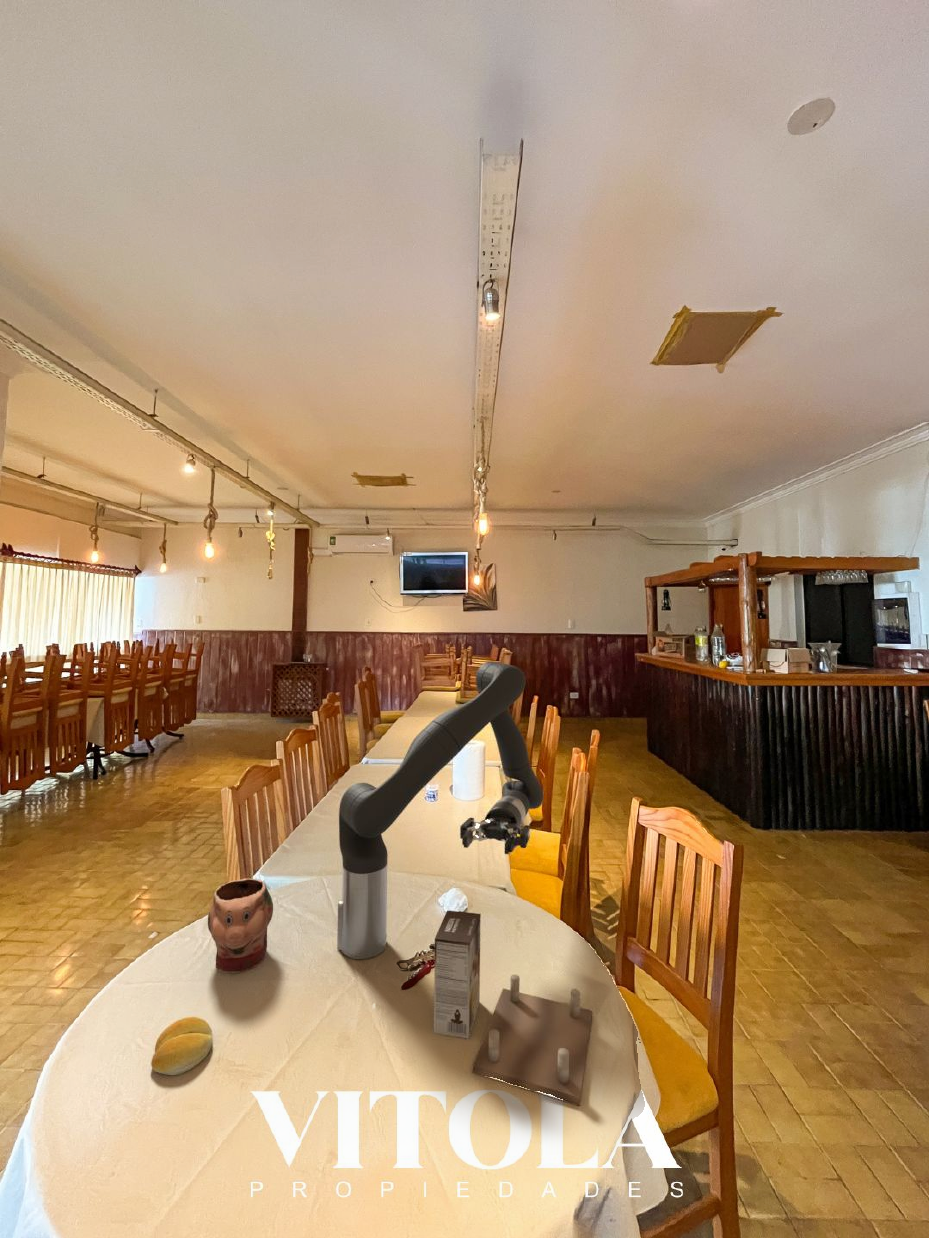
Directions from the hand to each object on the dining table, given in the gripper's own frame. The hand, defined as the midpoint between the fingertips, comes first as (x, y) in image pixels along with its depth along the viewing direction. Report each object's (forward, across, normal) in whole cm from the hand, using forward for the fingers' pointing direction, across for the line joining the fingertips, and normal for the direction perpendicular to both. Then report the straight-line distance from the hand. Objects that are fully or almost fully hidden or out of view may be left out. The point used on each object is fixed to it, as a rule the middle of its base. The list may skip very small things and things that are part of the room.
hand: (485, 846), depth 108 cm
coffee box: (+16, 0, +24) cm, 28 cm away
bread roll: (+38, -38, +23) cm, 59 cm away
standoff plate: (+17, +14, +23) cm, 32 cm away
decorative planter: (+15, -47, +23) cm, 55 cm away
